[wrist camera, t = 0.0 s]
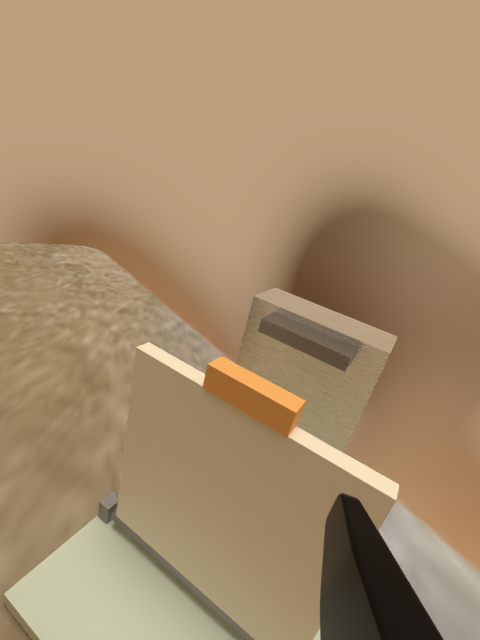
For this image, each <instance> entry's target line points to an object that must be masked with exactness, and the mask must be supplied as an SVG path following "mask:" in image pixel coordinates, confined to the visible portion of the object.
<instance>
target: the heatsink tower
mask: <svg viewBox="0 0 480 640" xmlns="http://www.w3.org/2000/svg"><path fill="white" fill-rule="evenodd" d="M396 340H397V336H395V335H392V334H390V333H387V332H385V331H382V330H380V329H377V328H375V327H372V326H370V325H367V324H365V323H362V322H360V321H357V320H355V319H352V318H350V317H347V316H345V315H342V314H340V313H337V312H335V311H332V310H330V309H327V308H325V307H322V306H320V305H317V304H315V303H312V302H310V301H307V300H305V299H302V298H300V297H298V296H295V295H293V294H290V293H287V292H285V291H283V290H280V289H278V288H273V289H271V290H268V291H265V292H263V293H260V294H258V295H255V296H254V298H253V301H252V305H251V309H250V312H249V316H248V320H247V325H246V328H245V332H244V336H243V339H242V343H241V347H240V351H239V355H238V359H237V362H236V364H238V365H239V366H241V367H243V368H245V369H247V370H249V371H251V372H253V373H255V374H256V375H258V376H260V377H262V378H264V379H266V380H268V381H270V382H272V383H273V384H275V385H277V386H279V387H281V388H283V389H285V390H287V391H289V392H290V393H292V394H294V395H296V396H298V397H300V398H302V399H304V400H306V402H305V405H304V408H303V410H302V413H301V415H300V418H299V421H298V423H297V425H296V426H297V427H298V428H300V429H302V430H304V431H306V432H307V433H309V434H311V435H313V436H314V437H316V438H318V439H320V440H321V441H323V442H325V443H327V444H328V445H330V446H332V447H334V448H335V449H337V450H339V451H341V452H342V453H344V451H345V449H346V447H347V445H348V443H349V440H350V438H351V436H352V434H353V432H354V430H355V428H356V425H357V423H358V421H359V419H360V417H361V415H362V413H363V411H364V408H365V406H366V404H367V402H368V400H369V398H370V396H371V394H372V391H373V389H374V387H375V385H376V383H377V381H378V379H379V376H380V374H381V372H382V370H383V368H384V366H385V364H386V362H387V359H388V357H389V355H390V353H391V351H392V348H393V346H394V344H395V342H396Z"/></svg>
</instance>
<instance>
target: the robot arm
mask: <svg viewBox="0 0 480 640" xmlns="http://www.w3.org/2000/svg"><path fill="white" fill-rule="evenodd" d="M320 640H443V638H442V636H441V635H440V633H439V631H438V630H437V628H436V626H435V625H434V623H433V621H432V620H431V618H430V616H429V615H428V613H427V611H426V610H425V608H424V606H423V605H422V603H421V601H420V600H419V598H418V596H417V595H416V593H415V591H414V590H413V588H412V586H411V585H410V583H409V581H408V580H407V578H406V576H405V575H404V573H403V571H402V570H401V568H400V566H399V565H398V563H397V561H396V560H395V558H394V556H393V555H392V553H391V551H390V550H389V548H388V546H387V545H386V543H385V541H384V540H383V538H382V536H381V535H380V533H379V531H378V530H377V528H376V526H375V525H374V523H373V521H372V520H371V518H370V516H369V515H368V513H367V511H366V510H365V508H364V506H363V505H362V503H361V501H360V500H359V499H358V498H356V497H353V496H350V495H347V494H344V493H340V494H339V495H338V496H337V498H336V500H335V502H334V504H333V506H332V508H331V510H330V512H329V514H328V516H327V519H326V523H325V533H324V547H323V561H322V575H321V589H320Z"/></svg>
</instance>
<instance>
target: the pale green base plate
mask: <svg viewBox="0 0 480 640" xmlns="http://www.w3.org/2000/svg"><path fill="white" fill-rule="evenodd" d="M117 504H118V496H117V495H116V494H115V493H114V492H113V491H112V492H111V493H110V494H109V495H107V496H106V497H105V498H104V499H102V500H101V501H100V502H99V512H98V515H97V516H96V517H95V518H94V519H93V520H91V521H90V522H89V523H88V524H87V525H86V526H84V527H83V528H82V529H81V530H80V531H78V532H77V533H76V534H75V535H74V536H72V537H71V538H70V539H69V540H68V541H66V542H65V543H64V544H63V545H62V546H60V547H59V548H58V549H57V550H56V551H55V552H53V553H52V554H51V555H50V556H49V557H47V558H46V559H45V560H44V561H43V562H41V563H40V564H39V565H38V566H37V567H35V568H34V569H33V570H32V571H31V572H29V573H28V574H27V575H26V576H25V577H23V578H22V579H21V580H20V581H19V582H18V583H16V584H15V585H14V586H13V587H12V588H10V589H9V590H8V591H7V592H6V593H4V601H5V606H6V607H7V608H8V610H9V611H10V612H11V614H12V615H13V616H14V617H15V619H16V620H17V621H18V623H19V624H20V625H21V626H22V628H23V629H24V630H25V632H26V633H27V634H28V635H29V637H30V638H31V639H32V640H245V639H244V638H242V637H241V636H240V635H239V634H238V633H237V632H236V631H235V630H234V629H232V628H231V627H230V626H229V625H228V624H227V623H226V622H225V621H224V620H223V619H221V618H220V617H219V616H218V615H217V614H216V613H215V612H214V611H213V610H212V609H210V608H209V607H208V606H207V605H206V604H205V603H204V602H203V601H202V600H200V599H199V598H198V597H197V596H196V595H195V594H194V593H193V592H192V591H191V590H189V589H188V588H187V587H186V586H185V585H184V584H183V583H182V582H181V581H179V580H178V579H177V578H176V577H175V576H174V575H173V574H172V573H171V572H170V571H168V570H167V569H166V568H165V567H164V566H163V565H162V564H161V563H160V562H159V561H157V560H156V559H155V558H154V557H153V556H152V555H151V554H150V553H149V552H147V551H146V550H145V549H144V548H143V547H142V546H141V545H140V544H139V543H138V542H136V541H135V540H134V539H133V538H132V537H131V536H130V535H129V534H128V533H127V532H125V531H124V530H123V529H122V528H121V527H120V526H119V525H118V524H117V523H115V522H114V521H113V520H112V519H111V515H112V513H113V511H114V510H115V509H116V508H117ZM313 640H320V629H319V631H318V632H317V634H316V636H315V637H314V639H313Z"/></svg>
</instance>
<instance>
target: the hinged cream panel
mask: <svg viewBox="0 0 480 640" xmlns="http://www.w3.org/2000/svg"><path fill="white" fill-rule="evenodd" d="M305 402H306V400H304V399H302V398H300V397H298V396H296V395H294V394H292V393H290V392H289V391H287V390H285V389H283V388H281V387H279V386H277V385H275V384H273V383H272V382H270V381H268V380H266V379H264V378H262V377H260V376H258V375H256V374H255V373H253V372H251V371H249V370H247V369H245V368H243V367H241V366H239V365H238V364H236V363H234V362H232V361H230V360H228V359H226V358H224V357H222V356H220V357H219V358H217V359H215V360H214V361H212V362H210V363H209V364H208V365H207V370H206V374H204V373H202V372H200V371H198V370H197V369H195V368H193V367H191V366H190V365H188V364H186V363H184V362H183V361H181V360H179V359H177V358H175V357H174V356H172V355H170V354H168V353H167V352H165V351H163V350H161V349H160V348H158V347H156V346H154V345H153V344H151V343H149V342H148V343H146V344H143V345H141V346H138V347H136V354H135V363H134V371H133V379H132V388H131V396H130V404H129V413H128V421H127V429H126V438H125V446H124V454H123V463H122V471H121V479H120V488H119V496H118V504H117V508H116V509H115V510H114V511H113V513H112V515H111V519H112V520H113V521H114V522H115V523H117V524H118V525H119V526H120V527H121V528H122V529H123V530H124V531H125V532H127V533H128V534H129V535H130V536H131V537H132V538H133V539H134V540H135V541H136V542H138V543H139V544H140V545H141V546H142V547H143V548H144V549H145V550H146V551H147V552H149V553H150V554H151V555H152V556H153V557H154V558H155V559H156V560H157V561H159V562H160V563H161V564H162V565H163V566H164V567H165V568H166V569H167V570H168V571H170V572H171V573H172V574H173V575H174V576H175V577H176V578H177V579H178V580H179V581H181V582H182V583H183V584H184V585H185V586H186V587H187V588H188V589H189V590H191V591H192V592H193V593H194V594H195V595H196V596H197V597H198V598H199V599H200V600H202V601H203V602H204V603H205V604H206V605H207V606H208V607H209V608H210V609H212V610H213V611H214V612H215V613H216V614H217V615H218V616H219V617H220V618H221V619H223V620H224V621H225V622H226V623H227V624H228V625H229V626H230V627H231V628H232V629H234V630H235V631H236V632H237V633H238V634H239V635H240V636H241V637H242V638H244V639H245V640H313V639H314V637H315V636H316V634H317V632H318V631H319V629H320V589H321V575H322V561H323V547H324V533H325V523H326V519H327V516H328V514H329V512H330V510H331V508H332V506H333V504H334V502H335V500H336V498H337V496H338V495H339V494H340V493H344V494H347V495H350V496H353V497H356V498H358V499H359V500H360V501H361V503H362V505H363V506H364V508H365V510H366V511H367V513H368V515H369V516H370V518H371V520H372V521H373V523H374V525H375V526H376V528H377V530H379V528H380V527H381V525H382V523H383V522H384V520H385V518H386V517H387V515H388V513H389V512H390V510H391V508H392V507H393V505H394V503H395V501H396V499H397V493H398V488H399V484H397V483H395V482H393V481H392V480H390V479H388V478H386V477H385V476H383V475H381V474H379V473H378V472H376V471H374V470H372V469H370V468H369V467H367V466H365V465H363V464H362V463H360V462H358V461H356V460H355V459H353V458H351V457H349V456H348V455H346V454H344V453H342V452H341V451H339V450H337V449H335V448H334V447H332V446H330V445H328V444H327V443H325V442H323V441H321V440H320V439H318V438H316V437H314V436H313V435H311V434H309V433H307V432H306V431H304V430H302V429H300V428H298V427H297V426H296V425H297V423H298V421H299V418H300V415H301V413H302V410H303V408H304V405H305Z"/></svg>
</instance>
